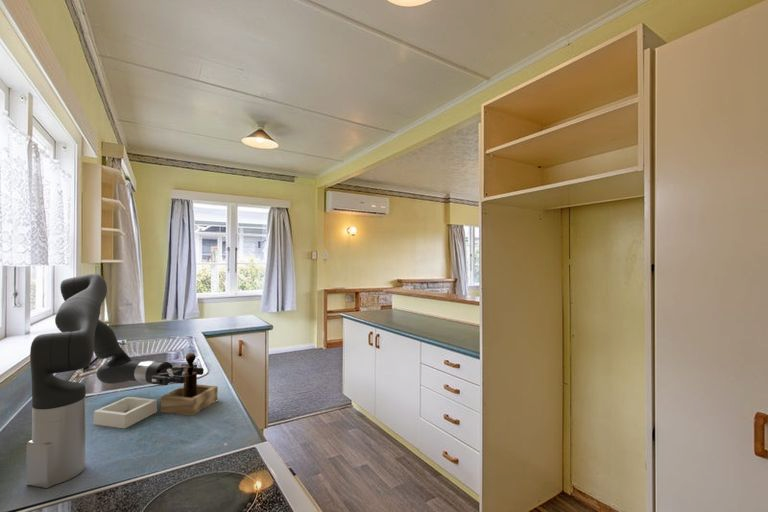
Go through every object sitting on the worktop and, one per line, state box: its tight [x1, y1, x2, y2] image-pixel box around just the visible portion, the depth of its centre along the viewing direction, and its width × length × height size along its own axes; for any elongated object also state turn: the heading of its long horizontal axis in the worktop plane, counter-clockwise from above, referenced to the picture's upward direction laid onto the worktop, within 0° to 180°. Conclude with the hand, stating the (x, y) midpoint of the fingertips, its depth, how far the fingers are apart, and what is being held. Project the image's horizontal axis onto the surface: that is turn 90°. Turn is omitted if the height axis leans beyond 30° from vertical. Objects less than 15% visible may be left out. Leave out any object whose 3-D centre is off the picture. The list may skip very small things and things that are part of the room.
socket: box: [160, 384, 219, 416], centre depth 120 cm, size 12×12×5 cm
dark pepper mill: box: [183, 352, 198, 398], centre depth 120 cm, size 7×6×18 cm
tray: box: [93, 396, 158, 429], centre depth 111 cm, size 11×11×4 cm
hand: (193, 375), depth 120 cm, fingers open, 8 cm apart
